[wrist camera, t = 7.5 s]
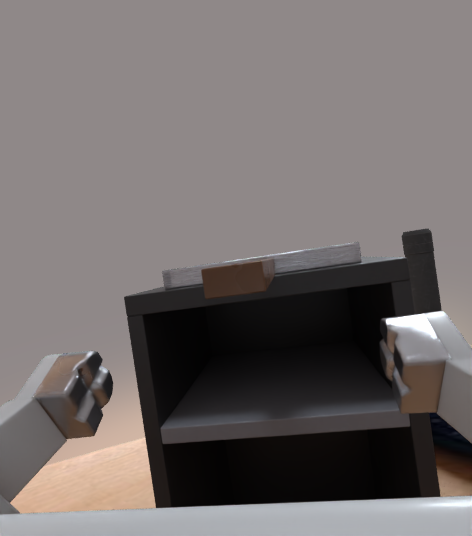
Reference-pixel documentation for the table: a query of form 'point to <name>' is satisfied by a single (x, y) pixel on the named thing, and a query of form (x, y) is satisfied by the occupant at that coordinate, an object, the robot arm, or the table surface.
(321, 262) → the rack
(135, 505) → the table surface
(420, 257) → the flashlight
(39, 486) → the table surface
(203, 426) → the black grill cabinet
